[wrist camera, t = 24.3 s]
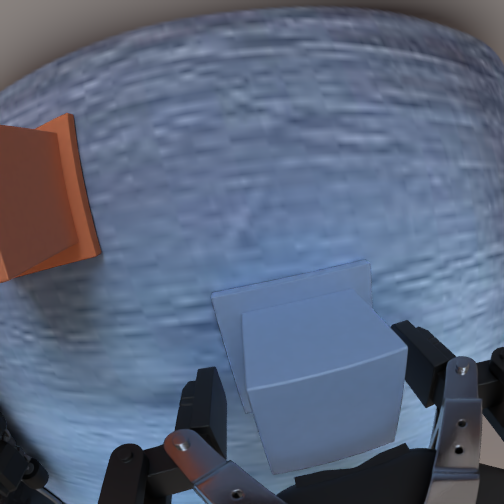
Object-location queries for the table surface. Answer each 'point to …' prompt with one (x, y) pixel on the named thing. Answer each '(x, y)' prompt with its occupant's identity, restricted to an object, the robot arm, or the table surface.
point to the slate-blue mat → (276, 294)
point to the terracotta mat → (71, 197)
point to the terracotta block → (31, 201)
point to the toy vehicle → (17, 465)
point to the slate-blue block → (322, 379)
